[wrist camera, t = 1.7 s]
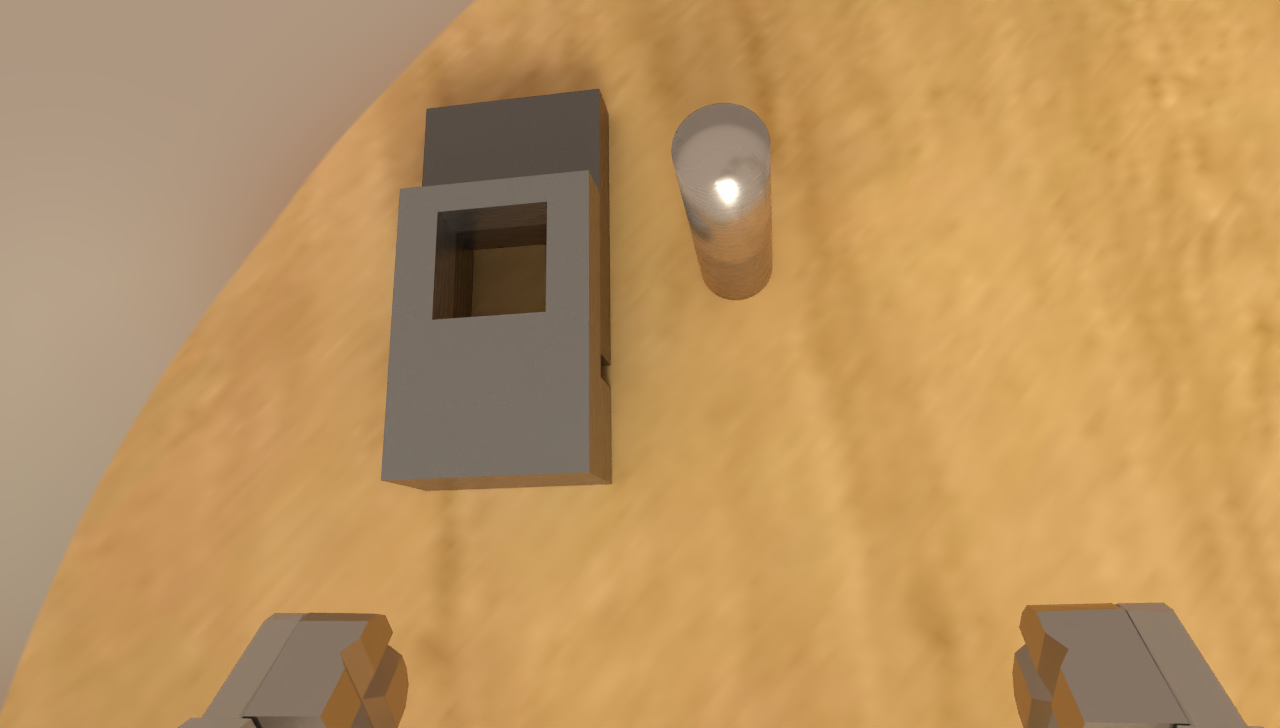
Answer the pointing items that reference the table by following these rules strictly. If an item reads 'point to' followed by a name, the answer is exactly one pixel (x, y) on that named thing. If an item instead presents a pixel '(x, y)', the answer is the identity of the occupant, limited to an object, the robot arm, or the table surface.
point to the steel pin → (727, 196)
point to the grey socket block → (513, 343)
